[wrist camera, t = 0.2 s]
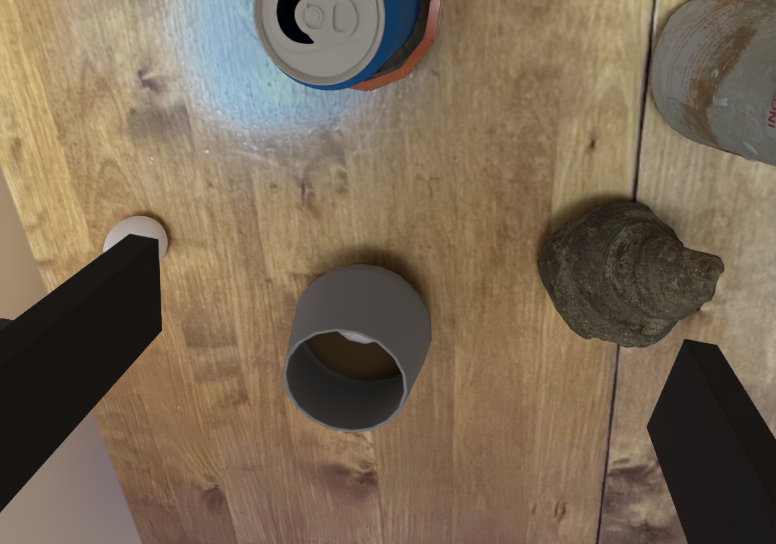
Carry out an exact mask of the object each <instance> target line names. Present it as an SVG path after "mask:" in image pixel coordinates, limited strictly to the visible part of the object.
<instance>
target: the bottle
mask: <svg viewBox="0 0 776 544" xmlns="http://www.w3.org/2000/svg"><path fill="white" fill-rule="evenodd" d="M651 85H652V93H653V97H654V100H655V103H656V105H657V107H658V110H659V111H660V113H661V114H662V116H663V117H664V119H665V120H666V122H667V123H668V124H669V125H670V126H671V127H672V128H673V129H674V130H676V131H677V132H679V133H680V134H681V135H683V136H685V137H686V138H688V139H690V140H692V141H694V142H697V143H700V144H703V145H707V146H710V147H714V148H717V149H720V150H722V151H725V152H728V153H732V154H735V155H739V156H741V157H743V158H745V159H746V160H749V161H752V162H753V161H760V162H763V163H766V164H770V165H773V166H776V0H691V1H689V2H687V3H686V4H684V5H683V6H681V7H680V8H679V9H678V10H677V11H676V12H675V13H674V14H673V15H672V16H671V17H670V19H669V20H668V22H667V24H666V26H665V28H664V30H663V32H662V34H661V36H660V38H659V40H658V43H657V46H656V50H655V53H654V57H653V63H652V71H651Z"/></svg>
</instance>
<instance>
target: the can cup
mask: <svg viewBox="0 0 776 544" xmlns="http://www.w3.org/2000/svg"><path fill="white" fill-rule="evenodd" d="M443 3H444V0H430V4H429V10H428V16H427V22H426V28H425V35H424V38H423V39H422V40H421V42H420V43H419V44H418V45H417V47H416V48H415V49H414V51H413V52H412V53H411V55H410V56H409V57H408V58H407V60H406V61H404V62H401V63H399V64H396V65H394V66H391V67H389V68H386V69H384V70H381V71H379V72H376V73H374V74H373V75H371V76H370V77H369V78H367V79H366V80H364V81H363V82H361V83H359V84H357V85H354V86H352V87H349V88H351V89H356V90H362V91H368V90H369V91H371V90H374V89H377V88H379V87H382V86H384V85H387V84H389V83H392V82H394V81H397V80H400V79H402V78H405V77H406V76H407V75H409V73H410V72H411V71H412V70H413V68H414V67H415V66H416V64H417V63H418V62H419V61H420V59H421V58H422V57H423V56H424V54H425V53H426V52H427V50H428V49H429V48H430V47H431V45H432V44H433V43H434V41H435V40H436V38H437V36H438V32H439V27H440V21H441V15H442V9H443Z"/></svg>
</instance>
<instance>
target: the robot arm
mask: <svg viewBox="0 0 776 544" xmlns="http://www.w3.org/2000/svg"><path fill="white" fill-rule="evenodd" d="M161 331H162V318H161V291H160V264H159V239H155V238H150V237H145V236H140V235H134V234H128V235H127V236H126V237H124V238H123V239H122V240H120V241H119V242H118V243H116V244H115V245H114V246H112V247H111V248H110V249H108V250H107V251H106V252H104V253H103V254H102V255H100V256H99V257H98V258H96V259H95V260H94V261H92V262H91V263H90V264H88V265H87V266H86V267H84V268H83V269H82V270H80V271H79V272H78V273H76V274H75V275H74V276H72V277H71V278H70V279H68V280H67V281H66V282H64V283H63V284H62V285H60V286H59V287H58V288H56V289H55V290H54V291H52V292H51V293H50V294H48V295H47V296H46V297H44V298H43V299H42V300H40V301H39V302H38V303H36V304H35V305H34V306H32V307H31V308H30V309H28V310H27V311H26V312H24V313H23V314H22V315H20V316H19V317H17V318H16V319H15V320H9V319H4V318H1V319H0V512H1V511H2V510H3V509H4V508H5V507H6V505H7V504H8V503H9V502H10V501H11V500H12V499H13V498H14V496H15V495H16V494H17V493H18V492H19V491H20V490H21V489H22V487H23V486H24V485H25V484H26V483H27V482H28V481H29V480H30V478H31V477H32V476H33V475H34V474H35V473H36V472H37V470H38V469H39V468H40V467H41V466H42V465H43V464H44V463H45V462H46V460H47V459H48V458H49V457H50V456H51V455H52V454H53V453H54V451H55V450H56V449H57V448H58V447H59V446H60V445H61V443H62V442H63V441H64V440H65V439H66V438H67V437H68V436H69V435H70V433H71V432H72V431H73V430H74V429H75V428H76V427H77V426H78V424H79V423H80V422H81V421H82V420H83V419H84V418H85V417H86V415H87V414H88V413H89V412H90V411H91V410H92V409H93V408H94V406H95V405H96V404H97V403H98V402H99V401H100V400H101V399H102V397H103V396H104V395H105V394H106V393H107V392H108V391H109V390H110V388H111V387H112V386H113V385H114V384H115V383H116V382H117V381H118V379H119V378H120V377H121V376H122V375H123V374H124V373H125V372H126V370H127V369H128V368H129V367H130V366H131V365H132V364H133V362H134V361H135V360H136V359H137V358H138V357H139V356H140V355H141V353H142V352H143V351H144V350H145V349H146V348H147V347H148V346H149V344H150V343H151V342H152V341H153V340H154V339H155V338H156V337H157V335H158V334H159V333H160V332H161ZM647 430H648V432H649V435H650V438H651V441H652V444H653V446H654V449H655V452H656V455H657V458H658V461H659V463H660V466H661V469H662V472H663V475H664V477H665V480H666V483H667V486H668V489H669V491H670V494H671V497H672V500H673V503H674V505H675V508H676V511H677V514H678V517H679V519H680V522H681V525H682V528H683V531H684V533H685V536H686V539H687V542H688V544H776V439H775V437H774V436H773V434H772V433H771V431H770V429H769V428H768V426H767V425H766V423H765V421H764V420H763V418H762V417H761V415H760V413H759V412H758V410H757V408H756V407H755V405H754V404H753V402H752V400H751V399H750V397H749V396H748V394H747V392H746V391H745V389H744V388H743V386H742V384H741V383H740V381H739V379H738V378H737V376H736V375H735V373H734V371H733V370H732V368H731V367H730V365H729V363H728V362H727V360H726V359H725V357H724V355H723V354H722V352H721V351H720V349H719V347H718V346H717V345H714V344H709V343H704V342H698V341H693V340H688V339H684V342H683V344H682V346H681V349H680V351H679V353H678V355H677V358H676V360H675V362H674V365H673V367H672V369H671V372H670V374H669V376H668V379H667V381H666V383H665V385H664V388H663V390H662V392H661V395H660V397H659V399H658V402H657V404H656V406H655V409H654V411H653V413H652V416H651V418H650V420H649V422H648V425H647Z"/></svg>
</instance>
